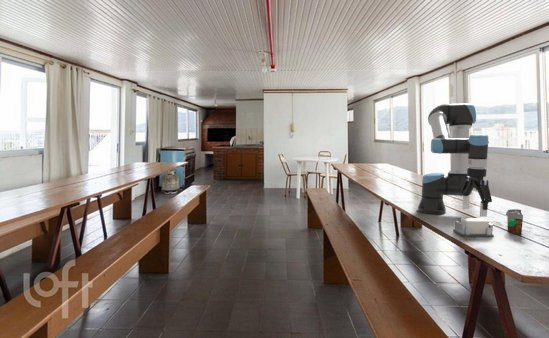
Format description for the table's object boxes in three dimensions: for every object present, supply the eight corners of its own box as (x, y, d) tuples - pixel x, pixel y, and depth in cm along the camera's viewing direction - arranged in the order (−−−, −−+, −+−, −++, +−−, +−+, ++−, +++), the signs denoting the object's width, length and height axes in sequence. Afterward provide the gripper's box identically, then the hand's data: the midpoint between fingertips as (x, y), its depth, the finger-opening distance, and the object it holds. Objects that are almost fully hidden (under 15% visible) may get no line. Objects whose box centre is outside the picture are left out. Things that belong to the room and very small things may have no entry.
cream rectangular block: (465, 233, 146) (466, 221, 145) (460, 230, 151) (461, 218, 150) (488, 233, 145) (489, 221, 144) (482, 230, 150) (482, 218, 149)
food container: (504, 227, 158) (505, 207, 157) (519, 229, 154) (521, 209, 153) (505, 233, 148) (506, 213, 146) (521, 236, 144) (523, 215, 143)
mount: (463, 237, 144) (464, 225, 143) (453, 230, 153) (453, 220, 152) (493, 236, 144) (494, 225, 143) (481, 230, 153) (482, 219, 152)
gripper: (453, 165, 157) (451, 206, 160) (485, 171, 132) (482, 220, 135) (469, 164, 157) (466, 206, 159) (504, 171, 132) (500, 219, 135)
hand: (474, 212), depth 147 cm, fingers open, 13 cm apart
